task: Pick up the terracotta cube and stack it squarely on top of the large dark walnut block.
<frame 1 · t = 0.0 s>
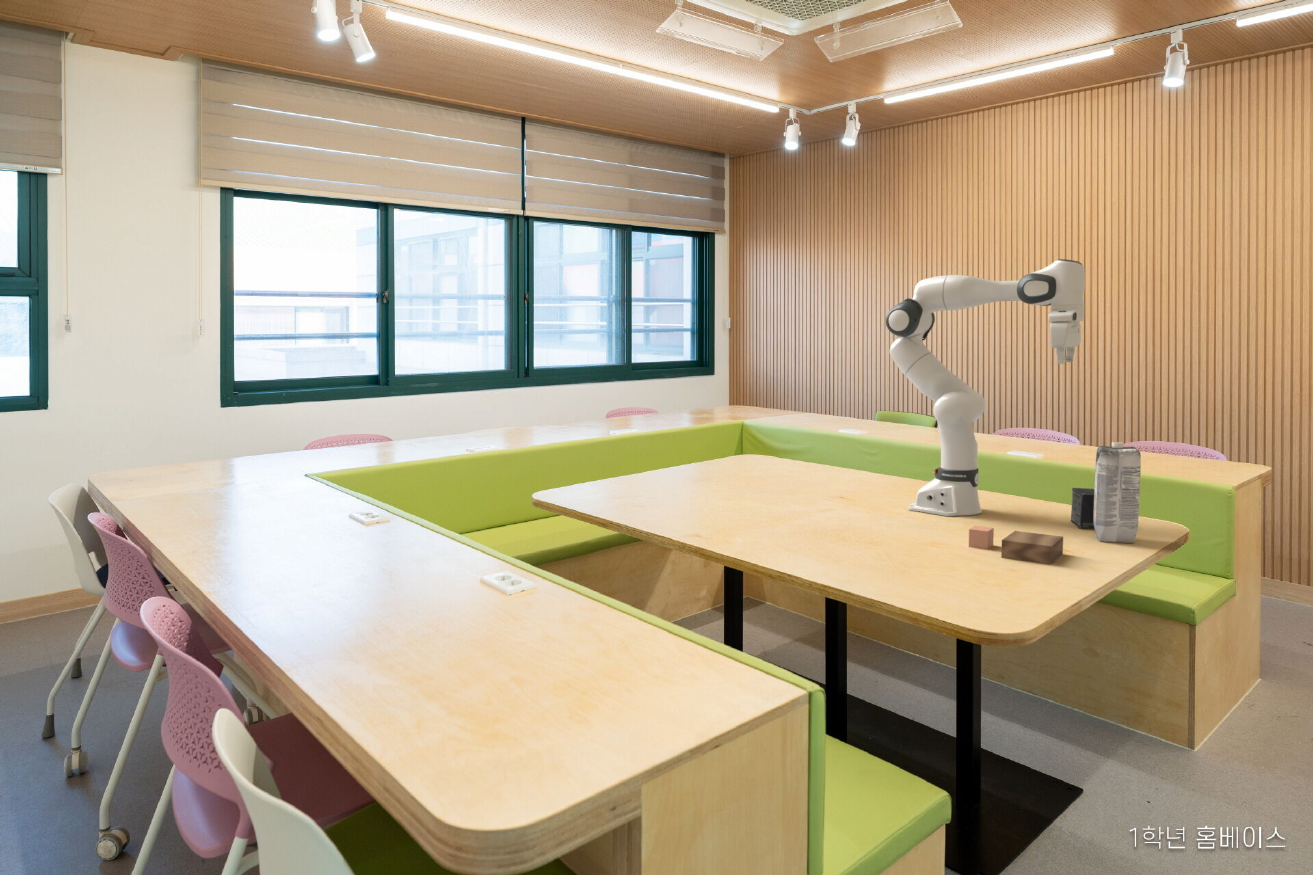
hand: (1065, 362, 253), 48 cm above the table, tool pointing down, fingers open, 8 cm apart
juice carton: (1114, 540, 238), on the table
walnut block: (1032, 557, 224), on the table
small box: (1086, 526, 255), on the table
terracotta cube: (981, 546, 235), on the table
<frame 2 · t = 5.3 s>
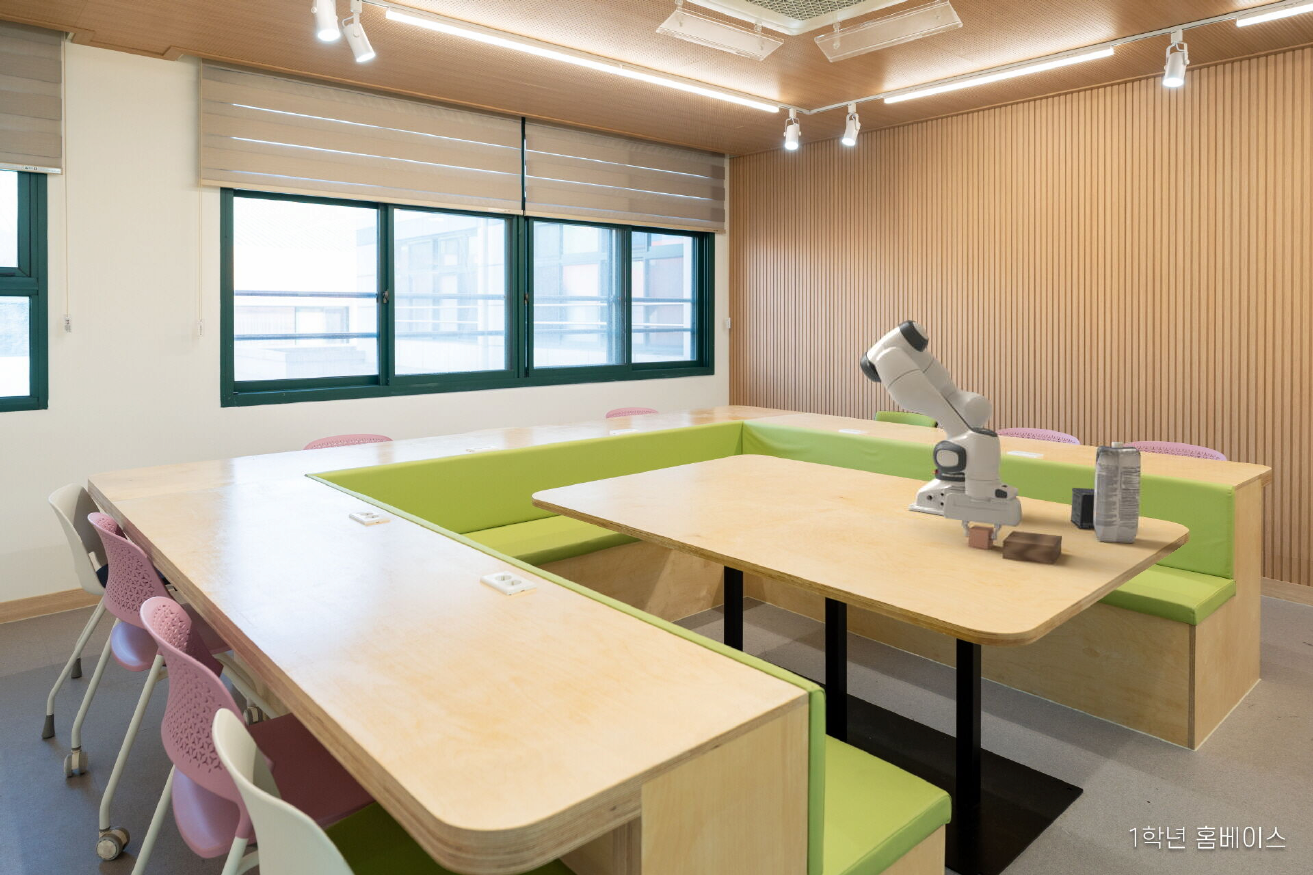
hand: (981, 538, 234), 2 cm above the table, tool pointing down, fingers closed on terracotta cube, 5 cm apart
terracotta cube: (980, 545, 235), on the table, touching gripper
everything else where it was.
when the fingers open (9 cm above the table, at t = 12.0 s): terracotta cube drops 2 cm, resting on walnut block.
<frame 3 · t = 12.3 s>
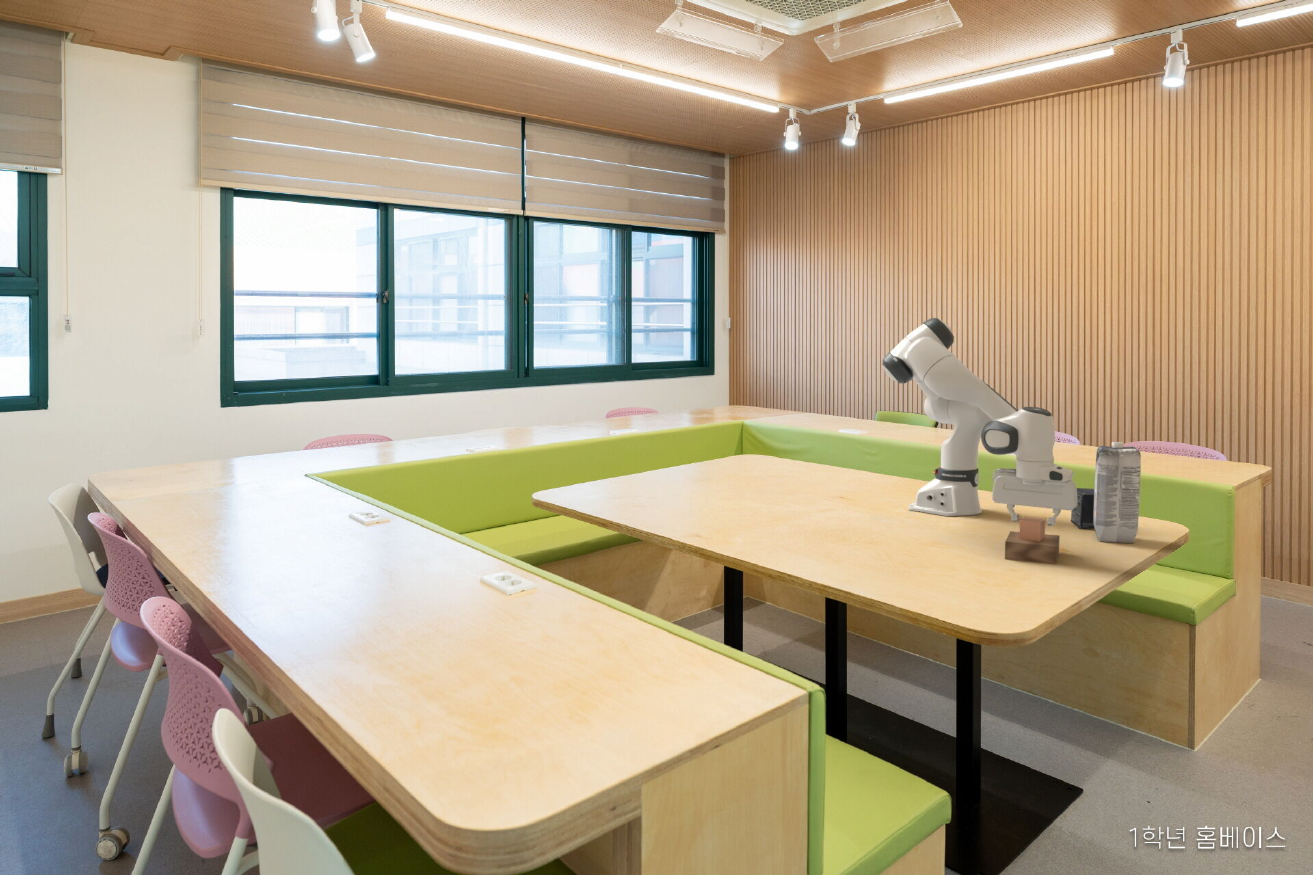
hand: (1033, 523, 223), 9 cm above the table, tool pointing down, fingers open, 8 cm apart
walnut block: (1032, 557, 224), on the table, touching terracotta cube
terracotta cube: (1032, 538, 223), point 5 cm above the table, touching walnut block
everything else where it was.
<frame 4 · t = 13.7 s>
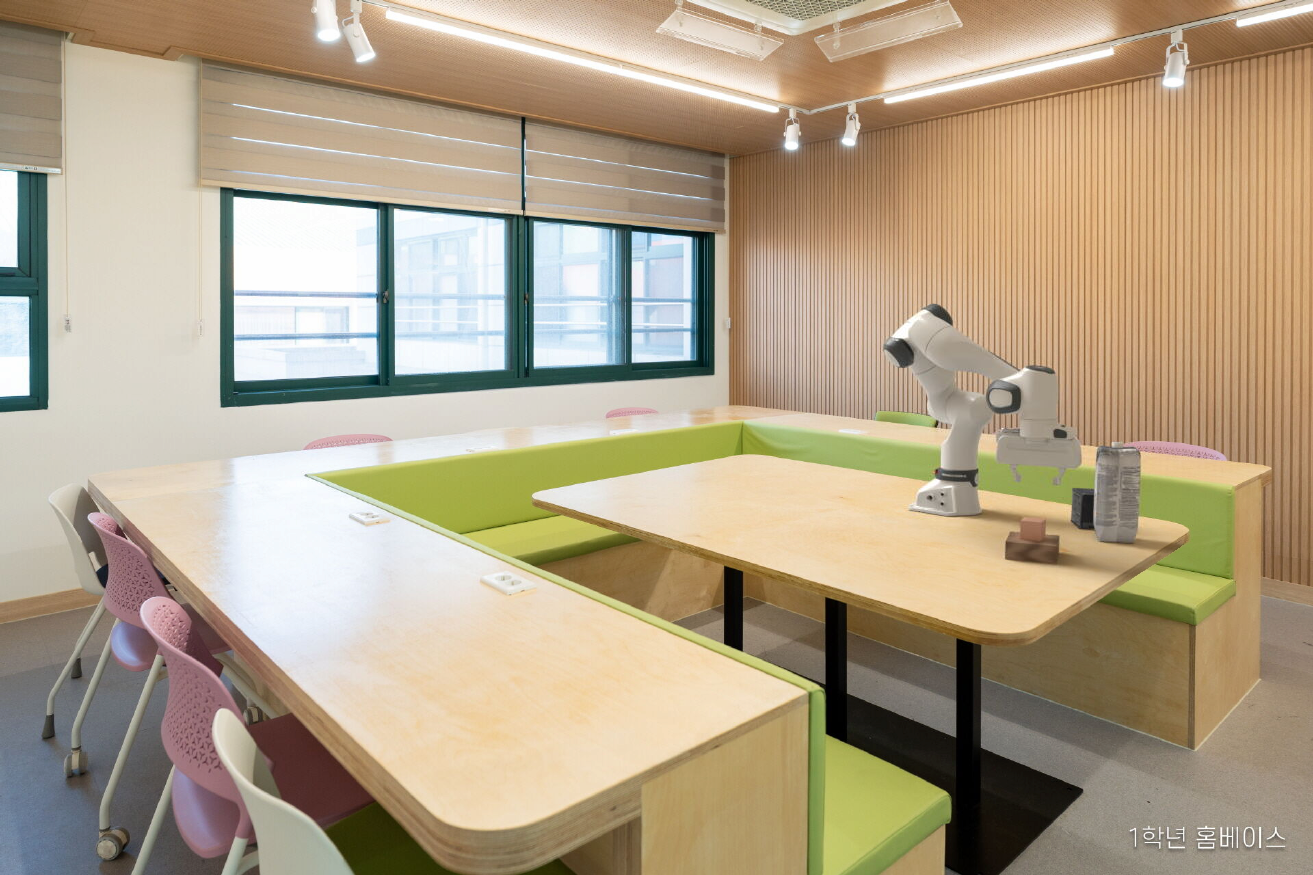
hand: (1037, 482, 221), 19 cm above the table, tool pointing down, fingers open, 8 cm apart
walnut block: (1032, 557, 224), on the table
terracotta cube: (1032, 538, 223), point 5 cm above the table
everything else where it was.
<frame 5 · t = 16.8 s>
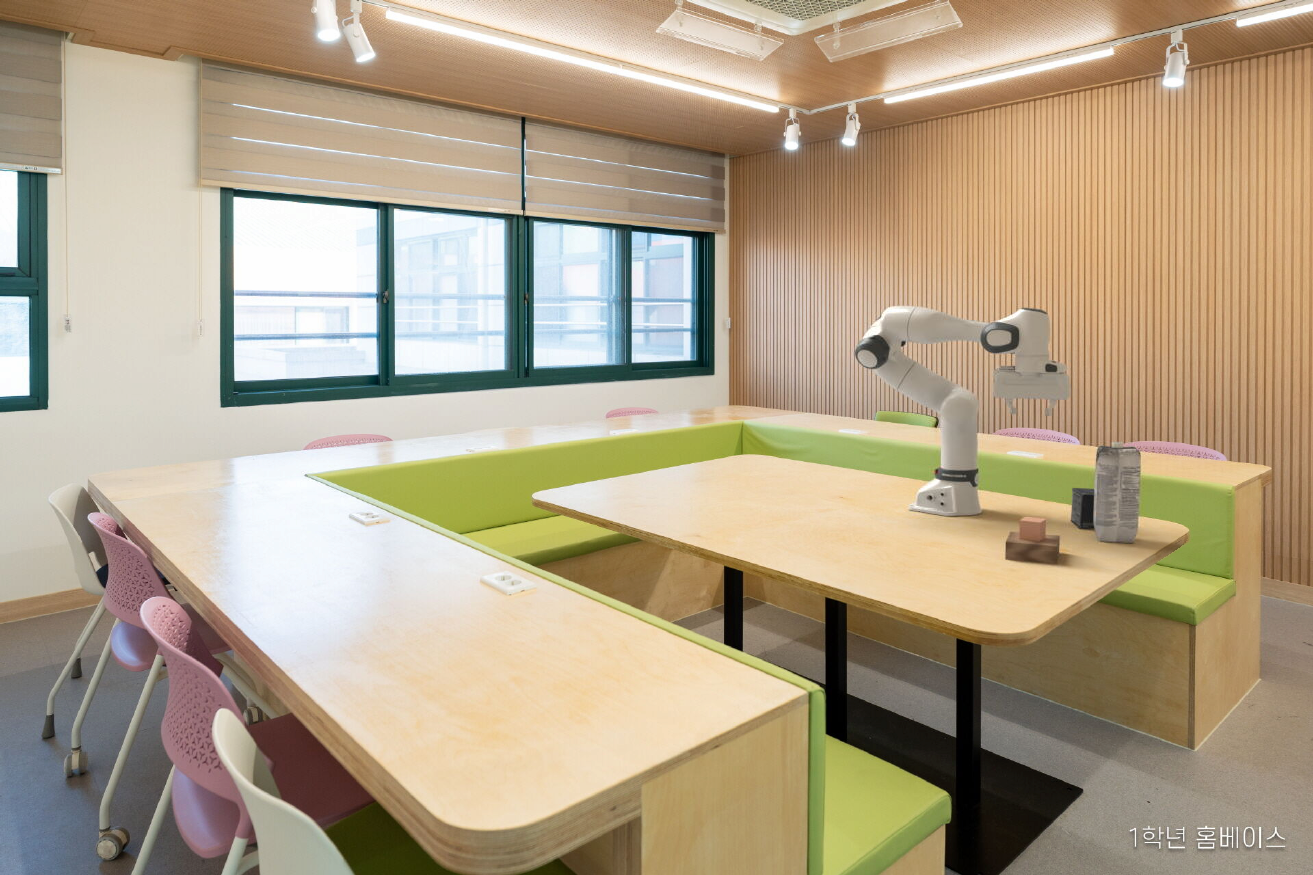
hand: (1030, 414, 244), 34 cm above the table, tool pointing down, fingers open, 8 cm apart
walnut block: (1032, 557, 224), on the table, touching terracotta cube
terracotta cube: (1032, 538, 223), point 5 cm above the table, touching walnut block
everything else where it was.
at the end: terracotta cube inside the target area on the walnut block (0.3 cm from its centre), point 5.0 cm above the walnut block's base; terracotta cube tilted 1°; terracotta cube touching walnut block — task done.
